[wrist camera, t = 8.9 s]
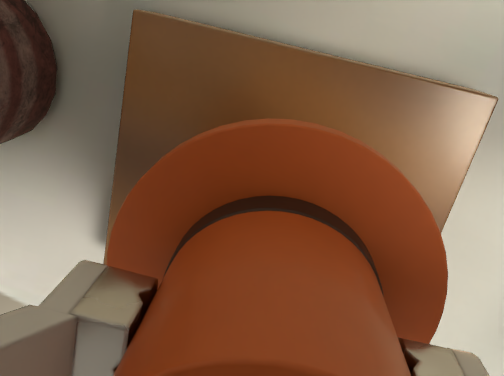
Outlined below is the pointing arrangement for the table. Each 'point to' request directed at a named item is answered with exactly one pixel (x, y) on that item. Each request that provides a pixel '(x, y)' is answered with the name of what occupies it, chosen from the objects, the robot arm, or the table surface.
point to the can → (24, 69)
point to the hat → (279, 256)
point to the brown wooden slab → (288, 104)
